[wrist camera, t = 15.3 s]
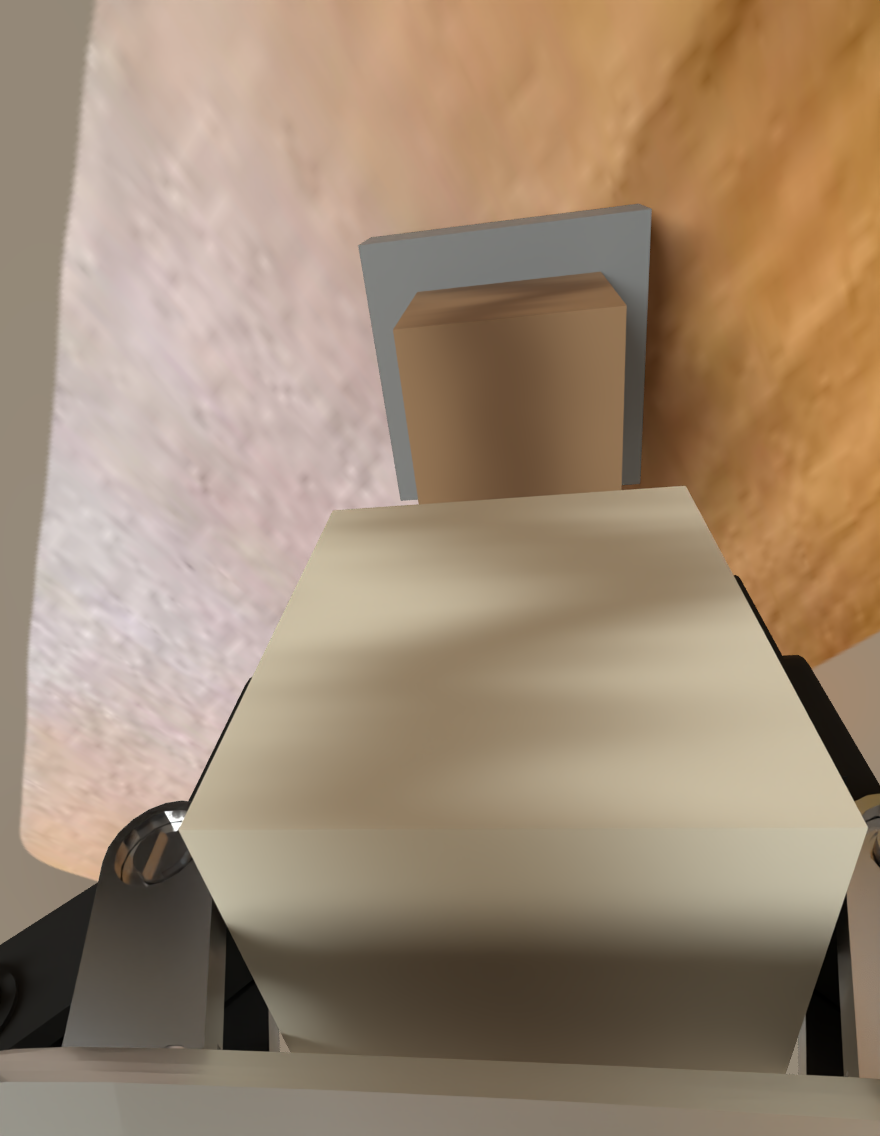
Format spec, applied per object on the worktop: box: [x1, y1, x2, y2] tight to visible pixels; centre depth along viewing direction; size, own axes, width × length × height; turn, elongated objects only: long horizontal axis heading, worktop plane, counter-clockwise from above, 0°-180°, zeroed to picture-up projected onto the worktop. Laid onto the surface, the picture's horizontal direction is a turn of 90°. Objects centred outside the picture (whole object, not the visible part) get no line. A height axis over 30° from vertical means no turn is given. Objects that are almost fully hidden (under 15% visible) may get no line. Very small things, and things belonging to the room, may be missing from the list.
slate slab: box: [358, 204, 652, 501], centre depth 26 cm, size 10×10×2 cm
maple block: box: [179, 486, 868, 1074], centre depth 9 cm, size 6×6×6 cm
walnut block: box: [393, 272, 627, 504], centre depth 23 cm, size 6×6×6 cm
